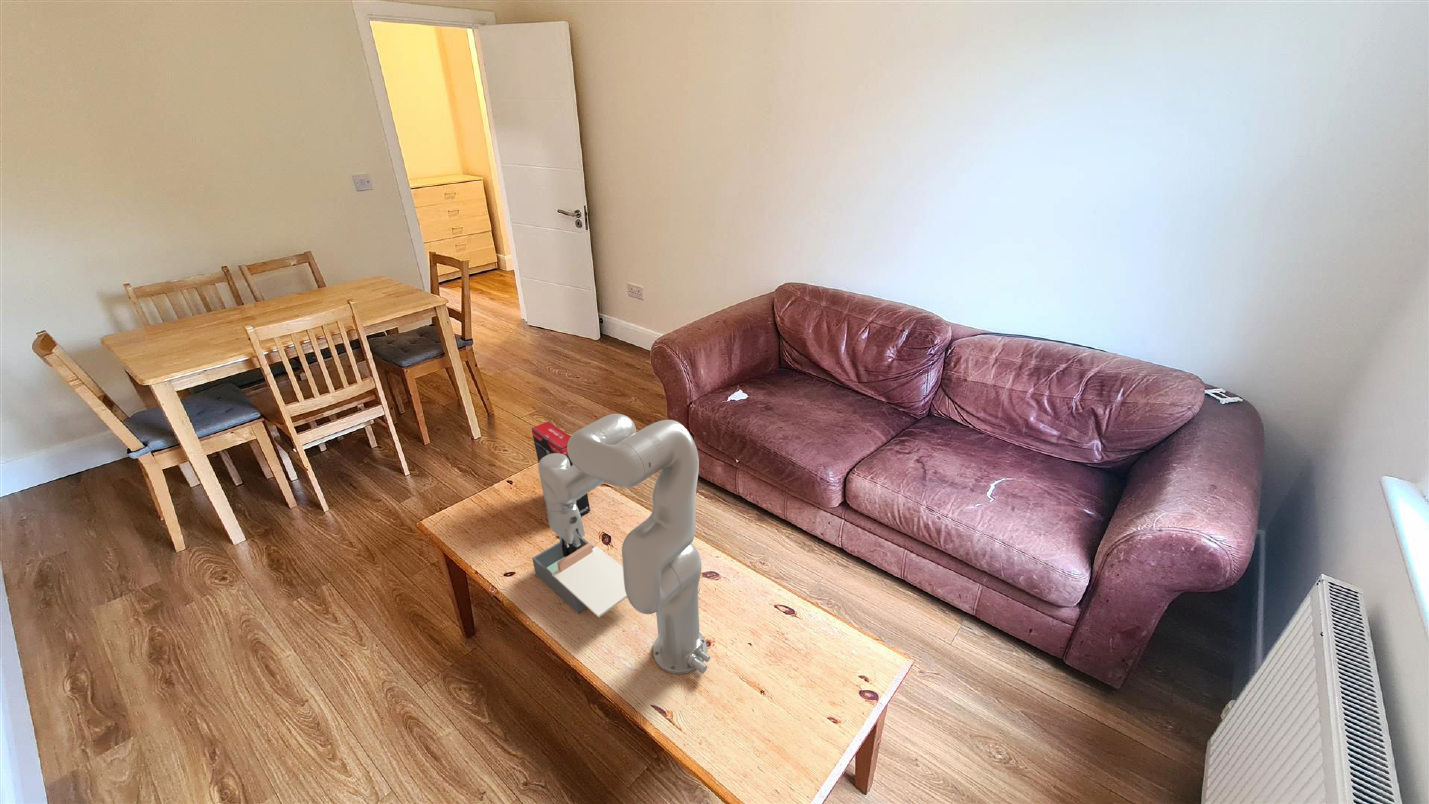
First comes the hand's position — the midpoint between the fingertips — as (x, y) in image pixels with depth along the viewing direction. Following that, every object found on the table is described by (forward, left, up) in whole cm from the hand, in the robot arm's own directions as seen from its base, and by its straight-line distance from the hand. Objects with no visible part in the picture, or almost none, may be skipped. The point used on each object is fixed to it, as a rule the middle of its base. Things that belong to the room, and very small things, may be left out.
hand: (570, 554), depth 154 cm
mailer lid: (-12, 0, -1) cm, 12 cm away
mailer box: (-2, 0, -8) cm, 8 cm away
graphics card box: (+27, -16, -8) cm, 32 cm away
